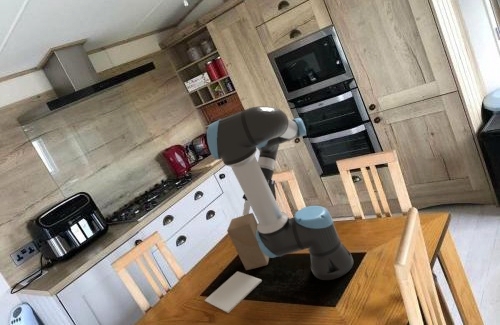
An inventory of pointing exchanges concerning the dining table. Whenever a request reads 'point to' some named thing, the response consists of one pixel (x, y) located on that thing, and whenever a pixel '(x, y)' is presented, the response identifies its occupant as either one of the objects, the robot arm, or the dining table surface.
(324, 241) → the robot arm
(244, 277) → the grey mat
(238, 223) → the wooden block
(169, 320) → the dining table surface
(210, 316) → the dining table surface
